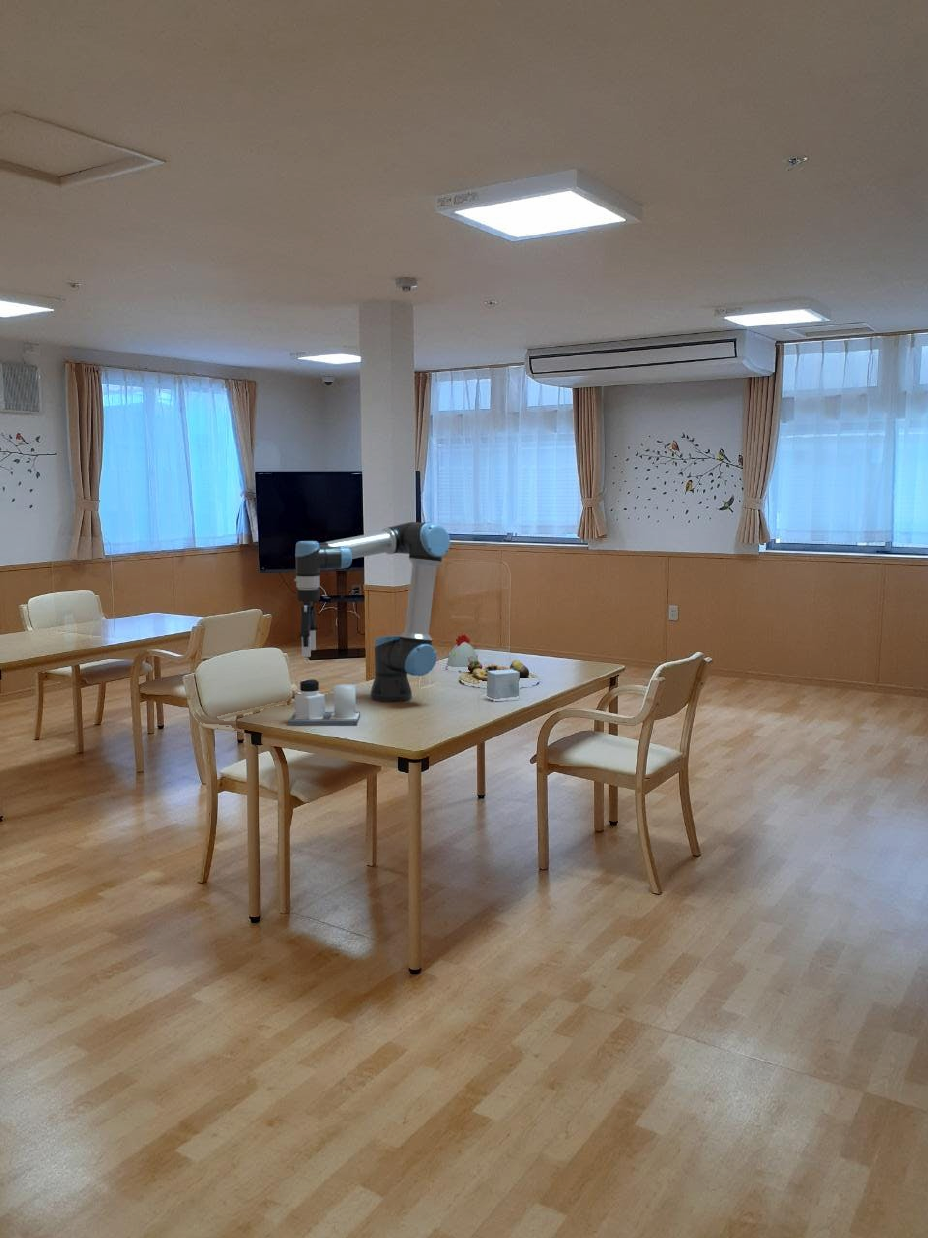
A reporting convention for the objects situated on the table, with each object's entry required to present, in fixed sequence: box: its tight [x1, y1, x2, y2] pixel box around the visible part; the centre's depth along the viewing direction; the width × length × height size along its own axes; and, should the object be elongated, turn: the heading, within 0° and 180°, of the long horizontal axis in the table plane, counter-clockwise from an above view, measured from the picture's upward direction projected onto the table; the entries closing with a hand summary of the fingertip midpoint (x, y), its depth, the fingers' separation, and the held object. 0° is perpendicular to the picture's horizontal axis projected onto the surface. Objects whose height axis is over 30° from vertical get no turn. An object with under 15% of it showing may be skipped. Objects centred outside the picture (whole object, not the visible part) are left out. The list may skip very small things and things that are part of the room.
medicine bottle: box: [294, 678, 326, 719], centre depth 335 cm, size 7×7×12 cm
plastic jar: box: [333, 683, 357, 718], centre depth 335 cm, size 7×7×10 cm
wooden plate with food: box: [458, 659, 539, 684], centre depth 405 cm, size 32×32×8 cm
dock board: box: [288, 711, 361, 727], centre depth 336 cm, size 22×14×2 cm, turn 91°
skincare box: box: [486, 668, 520, 699], centre depth 370 cm, size 10×6×10 cm, turn 115°
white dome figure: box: [446, 634, 479, 667], centre depth 431 cm, size 14×14×15 cm
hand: (309, 653), depth 333 cm, fingers open, 13 cm apart
